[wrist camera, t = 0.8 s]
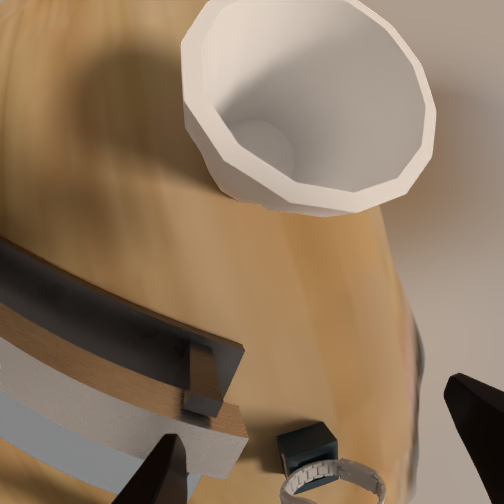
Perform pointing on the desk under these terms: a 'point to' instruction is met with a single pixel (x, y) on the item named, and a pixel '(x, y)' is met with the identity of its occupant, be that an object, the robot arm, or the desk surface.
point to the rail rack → (119, 329)
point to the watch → (320, 465)
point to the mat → (69, 449)
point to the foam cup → (305, 104)
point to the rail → (111, 399)
